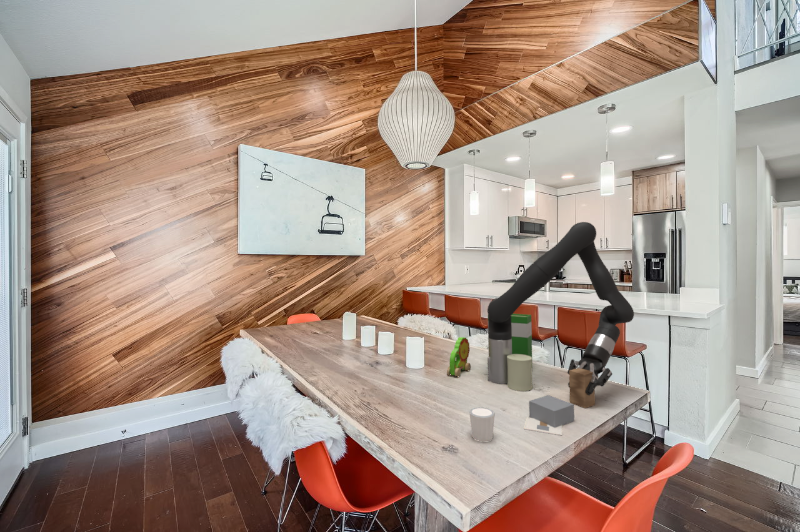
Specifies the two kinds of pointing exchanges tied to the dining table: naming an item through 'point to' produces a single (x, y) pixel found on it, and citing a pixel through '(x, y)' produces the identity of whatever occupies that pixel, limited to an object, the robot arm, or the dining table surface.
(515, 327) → the green banded block
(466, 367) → the toy lion
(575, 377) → the walnut brick
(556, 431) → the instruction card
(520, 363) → the can
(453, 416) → the dining table surface
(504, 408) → the dining table surface
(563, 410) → the base block
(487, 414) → the shot glass
